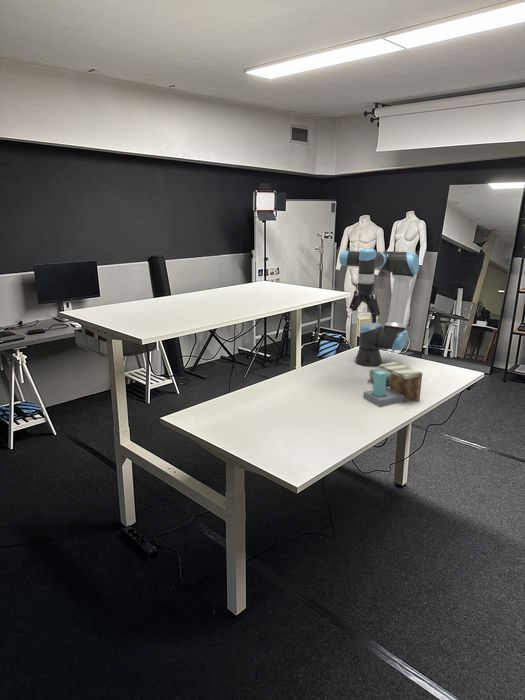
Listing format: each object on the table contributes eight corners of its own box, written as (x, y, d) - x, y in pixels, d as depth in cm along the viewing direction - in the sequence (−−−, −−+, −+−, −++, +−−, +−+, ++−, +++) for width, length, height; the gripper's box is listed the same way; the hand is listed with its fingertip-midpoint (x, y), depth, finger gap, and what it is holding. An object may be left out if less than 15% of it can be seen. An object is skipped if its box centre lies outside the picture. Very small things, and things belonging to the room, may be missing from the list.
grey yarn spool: (401, 378, 241) (393, 363, 238) (390, 390, 237) (382, 374, 234) (381, 377, 253) (373, 362, 249) (371, 388, 248) (362, 373, 245)
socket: (363, 397, 225) (363, 392, 224) (386, 392, 231) (386, 387, 230) (380, 406, 215) (380, 400, 214) (403, 401, 221) (404, 395, 220)
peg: (372, 400, 222) (374, 372, 218) (378, 398, 224) (380, 370, 220) (377, 403, 219) (379, 374, 215) (384, 401, 221) (386, 373, 217)
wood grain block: (377, 391, 232) (379, 364, 228) (393, 388, 236) (395, 361, 232) (403, 404, 217) (405, 376, 213) (419, 400, 221) (422, 372, 217)
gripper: (343, 279, 232) (341, 321, 238) (376, 286, 211) (373, 332, 217) (355, 278, 235) (353, 320, 241) (389, 285, 214) (386, 330, 220)
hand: (363, 326), depth 229 cm, fingers open, 13 cm apart
